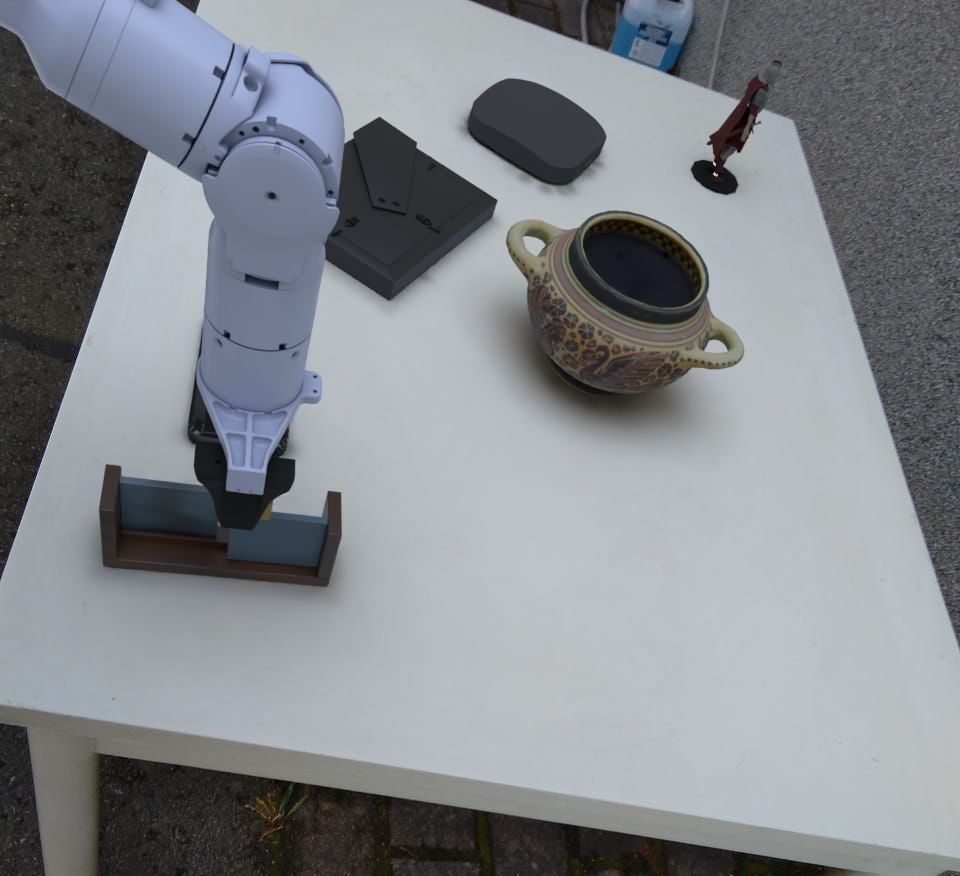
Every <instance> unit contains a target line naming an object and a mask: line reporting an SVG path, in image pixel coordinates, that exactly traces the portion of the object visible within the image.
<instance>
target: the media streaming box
mask: <svg viewBox="0 0 960 876" xmlns="http://www.w3.org/2000/svg"><path fill="white" fill-rule="evenodd" d="M467 127H468V129H469V130H470V133H472V135H473V136H474V137H475V138H476V139H477V140H478V141H480V142H481V143H483V144H484V145H486V146H488V147H489V148H491V149H492V150H494V151H495V152H496V153H498V154H500V155H501V156H503V157H505V158H506V159H508V160H509V161H511V162H512V163H515V164H516V165H518V166H519V167H521V168H522V169H524V170H526V171H528V172H529V173H531V174H532V175H535V176H536V177H538V178H540V179H542V180H544V181H547V182H551V183H556V184H566V183H570V182H572V181H573V180H575V179H576V178H578V177H579V176H580V175H581V174H582V173H583V172H585V171H586V170H587V169H588V168H589V167H591V165H592V164H593V163H594V162H595V161H596V160H597V159H598V158H599V156H601V153H602V151H603V148H604V146H605V143H606V141H607V133H606V131H605V129H604V128H603V126H602V125H601V123H600V122H599V121H598V120H597V119H596V118H595V117H594V116H593V115H592V114H590V113H589V112H588V111H587V110H585V109H584V108H583V107H581V105H578V104H577V103H576V102H574V101H572V100H571V99H569V98H568V97H566V96H564V95H563V94H562V93H559V92H557V91H556V90H554V89H552V88H550V87H548V86H546V85H543V84H540V83H538V82H535V81H531V80H528V79H523V78H516V77H515V78H512V77H511V78H510V77H509V78H508V77H507V78H504V79H502V80H499V81H497V82H495V83H494V84H492V85H491V86H489V87H488V88H486V89H485V90H484V91H483V92H481V94H480V95H478V96H477V97H476V99H475V100H473V103H472V106H471V109H470V113H469V116H468V120H467Z"/></svg>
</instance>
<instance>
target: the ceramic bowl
mask: <svg viewBox="0 0 960 876" xmlns="http://www.w3.org/2000/svg"><path fill="white" fill-rule="evenodd" d="M525 237H530V238H534V239H538V240H539V241H541V242H542V243H543V244H544V247H543V248H542V249H541V250H540V251H539V253H538V254H537V256H536V255H534V254H533V253H532V252H530V251H529V250H528V249H527V247H526V245H525V241H524V238H525ZM505 245H506V247H507V251H508V254H509V257H510V258H511V260H512V262H513V263H514V265H515V266H516V267H517V269H518V270H519V271H520V273H521V274H522V276H523V277H524V278H525V279H526V281H527V288H526V303H527V304H526V305H527V312H528V316H529V320H530V323H531V327H532V329H533V331H534V334H535V335H536V338H537V340H538V341H539V343H540V344H541V346H542V348H543V349H544V351H545V355H546V359H547V361H548V363H549V365H550V367H551V368H552V369H553V371H554V372H555V373H556V375H557V376H558V377H559V378H560V379H561V380H562V381H563V382H564V383H565V384H567V385H568V386H570V387H571V388H573V389H574V390H576V391H578V392H581V393H583V394H586V395H589V396H590V397H598V398H613V397H617V396H621V395H624V394H642V393H646V392H653V391H656V390H659V389H662V388H665V387H667V386H669V385H671V384H674V383H675V382H676V381H679V379H681V378H682V377H683V376H685V375H686V374H687V373H689V371H690V370H692V369H705V370H710V371H711V370H723V369H728V368H732V367H734V366H736V365H738V364H739V363H740V362H741V361H742V360H743V359H744V355H745V347H744V342H743V341H742V340H741V338H740V336H739V334H738V333H737V331H736V330H735V329H734V328H732V327H731V326H730V325H728V324H727V323H725V322H723V321H722V320H721V319H719V318H718V317H717V316H715V315H714V313H713V312H712V310H711V305H710V301H709V298H708V293H709V289H710V274H709V270H708V267H707V265H706V262H705V261H704V259H703V257H702V255H701V254H700V253H699V251H698V250H697V248H696V247H695V246H694V245H693V244H692V243H691V242H690V241H689V240H688V239H686V238H685V237H684V236H683V235H682V234H681V233H679V232H678V231H677V230H675V229H674V228H673V227H671V226H670V225H667V224H665V223H663V222H661V221H660V220H657V219H655V218H651V217H649V216H647V215H644V214H641V213H636V212H633V211H628V210H617V209H616V210H607V211H602V212H601V211H600V212H598V213H595V214H593V215H591V216H589V217H588V218H586V220H584V221H583V222H582V223H581V224H580V225H579V227H575V228H571V229H563V228H561V227H557V226H555V225H553V224H550V223H549V222H545V221H544V220H541V219H532V218H531V219H530V218H529V219H523V220H520V221H517V222H516V223H514V224H513V225H511V226H510V228H509V230H508V231H507V234H506V238H505ZM714 340H716V341H719V342H721V343H722V344H723V345H724V347H725V348H726V350H727V351H723V352H709V351H705V350H706V348H707V346H708V344H709V342H710V341H714Z"/></svg>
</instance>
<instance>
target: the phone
mask: <svg viewBox="0 0 960 876" xmlns="http://www.w3.org/2000/svg"><path fill="white" fill-rule="evenodd" d="M201 327H202V328H201V335H200V340H199V347H198V352H197V353H198V355H197V360H196V365H197V364H198V360H199V358H200V356H201V351H202V334H203V326H201ZM196 373H197V366H196V368H195V373H194V381H193V387H192V392H191V393H192V394H191V401H190V407H189V414H188V421H187V437H188V438H189V440H190V442H192V443H193V444H195V443H196V441H203V442H210V443H218V444H221V442H220V440H219V437H218V435H217V432H216V430H215V427H214V425H213V423H212V420H211V418H210V415H209V413H208V410H207V408H206V405H205V403H204V400H203V398H202V395H201V393H200V391H199V388H198V385H197V379H196ZM290 423H291V422H290ZM290 423H289V425H288V427H287V429H286V431H285V432H284V434H283V436H282V438H281V439H280V441H279V443H278V445H277V447H276V448H275V450H274V452H273V454H272V457H281V456H282V455H283V454H284V453H285V452H286V450H287V445H288V440H289V435H290V429H289V427H290Z"/></svg>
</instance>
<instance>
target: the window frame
mask: <svg viewBox="0 0 960 876" xmlns="http://www.w3.org/2000/svg"><path fill="white" fill-rule="evenodd" d="M122 471H123V470H122V466H121V465H117V464H108V463H106V464H105V466H104V475H103V479H102V486H101V493H100V499H99V506H98V516H99V517H98V519H99V530H100V543H101V554H102V555H101V557H102V566H103V567H106V568H107V567H108V568H118V569H119V568H120V569H128V570H129V569H130V570H138V571H139V570H142V571H150V572H151V571H152V572H164V573H173V574H185V575H197V576H208V577H216V578H217V577H218V578H229V579H238V580H239V579H240V580H249V581H250V580H252V581H262V582H274V583H284V584H285V583H286V584H296V585H307V586H316V587H317V586H318V587H319V586H320V587H328V586H329V584H330V580H331V577H332V574H333V569H334V567H335V562H336V559H337V555H338V551H339V548H340V544H341V540H342V536H343V520H342V518H343V517H342V516H343V514H342V513H343V512H342V492H341V491H334V490H327V493H326V496H325V501H324V505H323V509H322V513H321V517H326V518H328V525H327V529H326V533H325V537H324V541H323V545H322V549H321V553H320V557H319V561H318V565H317V567H307V566H296V565H286V564H275V563H265V562H254V561H244V560H234V559H227V548H228V539H229V529H230V528H222V527H221V526H220V525H219V521H218V519H217V515H216V511H215V507H214V503H213V499H212V497H211V494H210V493H209V491H208V490H207V489H206V487H205V486H204V485H202V484H192V483H184V482H175V481H167V480H159V479H151V478H150V479H149V478H143V477H142V478H141V477H133V476H132V477H131V476H123V474H122V473H123V472H122Z"/></svg>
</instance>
